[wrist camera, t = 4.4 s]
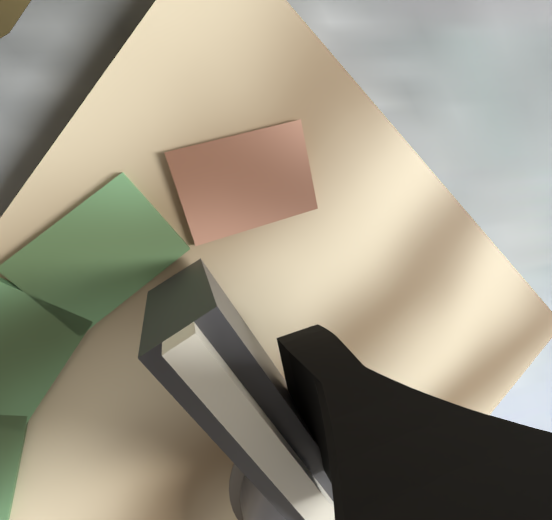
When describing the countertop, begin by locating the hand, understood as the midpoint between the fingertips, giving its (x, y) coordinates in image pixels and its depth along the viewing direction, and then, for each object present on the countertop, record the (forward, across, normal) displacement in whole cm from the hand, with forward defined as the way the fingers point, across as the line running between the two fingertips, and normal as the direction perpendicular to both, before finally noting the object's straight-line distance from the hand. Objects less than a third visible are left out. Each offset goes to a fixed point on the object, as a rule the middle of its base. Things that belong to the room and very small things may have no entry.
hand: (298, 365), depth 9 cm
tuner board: (+2, +2, +3) cm, 4 cm away
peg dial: (+1, 0, +3) cm, 3 cm away
